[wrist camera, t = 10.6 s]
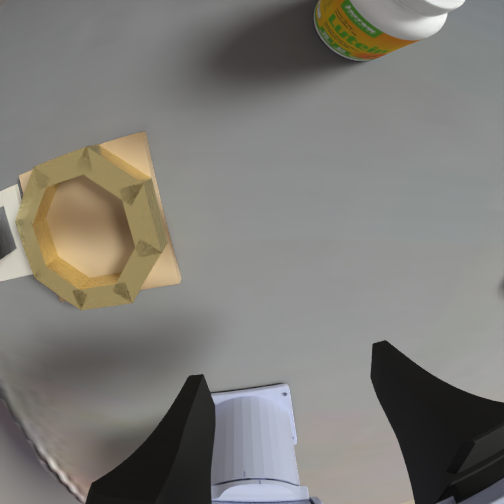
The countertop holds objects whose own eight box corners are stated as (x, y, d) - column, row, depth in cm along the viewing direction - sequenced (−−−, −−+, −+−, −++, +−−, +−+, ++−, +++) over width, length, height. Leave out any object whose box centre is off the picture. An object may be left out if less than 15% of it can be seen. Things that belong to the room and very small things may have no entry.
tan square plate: (181, 278, 22) (179, 283, 21) (65, 296, 22) (60, 301, 21) (145, 131, 18) (141, 131, 17) (24, 173, 18) (18, 175, 18)
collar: (180, 283, 21) (175, 296, 19) (60, 302, 21) (50, 314, 20) (142, 131, 17) (132, 131, 16) (18, 175, 18) (3, 180, 16)
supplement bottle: (300, 40, 16) (349, -27, 7) (326, -21, 14) (380, -99, 5) (377, 76, 17) (471, 50, 8) (398, 15, 15) (485, -31, 6)
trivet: (44, 270, 21) (42, 272, 21) (-8, 281, 21) (-10, 283, 21) (17, 184, 18) (14, 185, 18) (-33, 207, 19) (-35, 208, 18)
